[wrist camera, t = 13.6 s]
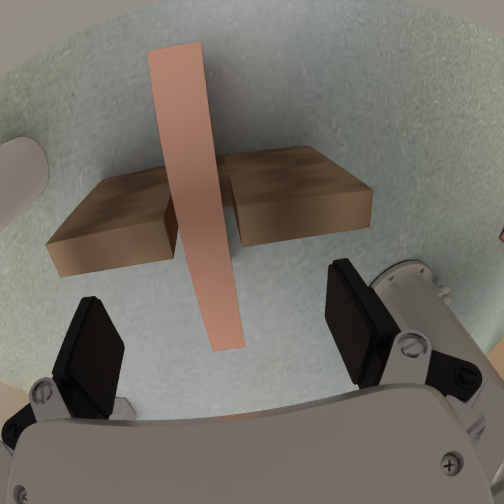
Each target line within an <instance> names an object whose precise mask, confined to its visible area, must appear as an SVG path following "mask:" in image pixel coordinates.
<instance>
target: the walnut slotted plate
mask: <svg viewBox="0 0 504 504" xmlns="http://www.w3.org/2000/svg"><path fill="white" fill-rule="evenodd" d="M216 164H217V171H218V178H219V185H220V192H221V199H222V206H223V207H229V206H233V208H234V212H235V217H236V221H237V226H238V230H239V234H240V239H241V243H242V247H247V246H253V245H259V244H266V243H272V242H278V241H284V240H291V239H297V238H303V237H310V236H316V235H322V234H329V233H335V232H342V231H348V230H354V229H361V228H367V227H370V218H371V208H372V196H373V190H372V189H371V188H370V187H368V186H367V185H366V184H364V183H363V182H361V181H360V180H359V179H357V178H356V177H354V176H353V175H352V174H350V173H349V172H347V171H346V170H344V169H343V168H341V167H340V166H339V165H337V164H336V163H334V162H333V161H331V160H330V159H328V158H327V157H325V156H324V155H322V154H320V153H319V152H317V151H316V150H314V149H313V148H311V147H309V146H304V147H292V148H281V149H272V150H263V151H255V152H247V153H239V154H232V155H225V156H218V157H216ZM177 233H178V222H177V218H176V213H175V209H174V204H173V200H172V195H171V191H170V186H169V181H168V176H167V171H166V166H163V167H158V168H153V169H149V170H144V171H140V172H135V173H131V174H127V175H123V176H118V177H114V178H111V179H107V180H103V181H101V182H100V183H99V184H98V185H97V186H96V187H95V188H94V189H93V190H92V191H91V192H90V193H89V194H88V195H87V196H86V197H85V199H84V200H83V201H82V202H81V203H80V204H79V205H78V206H77V207H76V209H75V210H74V211H73V212H72V213H71V214H70V215H69V217H68V218H67V219H66V220H65V221H64V222H63V224H62V225H61V226H60V227H59V228H58V230H57V231H56V232H55V233H54V235H53V236H52V237H51V238H50V240H49V241H48V242H47V243H46V247H47V250H48V252H49V254H50V256H51V258H52V261H53V263H54V265H55V267H56V269H57V271H58V273H59V275H60V277H67V276H73V275H78V274H84V273H90V272H96V271H102V270H108V269H114V268H120V267H126V266H131V265H137V264H143V263H149V262H155V261H161V260H167V259H173V258H174V252H175V246H176V239H177Z"/></svg>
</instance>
